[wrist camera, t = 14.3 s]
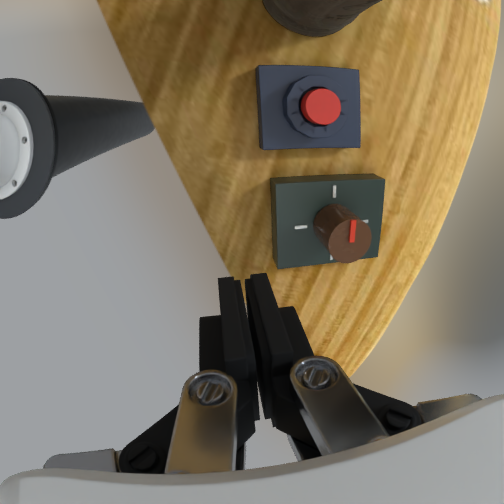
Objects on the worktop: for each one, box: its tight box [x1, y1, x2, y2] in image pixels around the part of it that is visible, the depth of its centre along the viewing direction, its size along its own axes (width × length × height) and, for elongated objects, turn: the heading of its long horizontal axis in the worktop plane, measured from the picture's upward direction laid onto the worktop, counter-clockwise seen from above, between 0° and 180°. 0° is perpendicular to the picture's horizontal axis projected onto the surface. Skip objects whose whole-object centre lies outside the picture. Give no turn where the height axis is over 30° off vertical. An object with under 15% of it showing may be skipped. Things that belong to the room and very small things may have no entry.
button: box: [301, 88, 341, 125], centre depth 27 cm, size 4×4×2 cm
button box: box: [255, 65, 360, 150], centre depth 29 cm, size 11×9×4 cm
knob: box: [313, 204, 372, 263], centre depth 32 cm, size 5×5×5 cm
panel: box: [270, 174, 385, 269], centre depth 36 cm, size 13×10×3 cm
